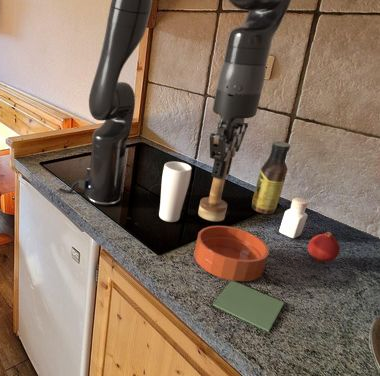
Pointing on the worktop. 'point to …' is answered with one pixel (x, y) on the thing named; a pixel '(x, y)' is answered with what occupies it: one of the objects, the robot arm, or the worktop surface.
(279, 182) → the sauce bottle
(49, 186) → the worktop surface
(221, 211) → the dish brush
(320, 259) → the onion
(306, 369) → the worktop surface
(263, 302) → the mat
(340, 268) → the worktop surface
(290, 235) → the pepper shaker
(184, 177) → the drinking glass
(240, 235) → the bowl
